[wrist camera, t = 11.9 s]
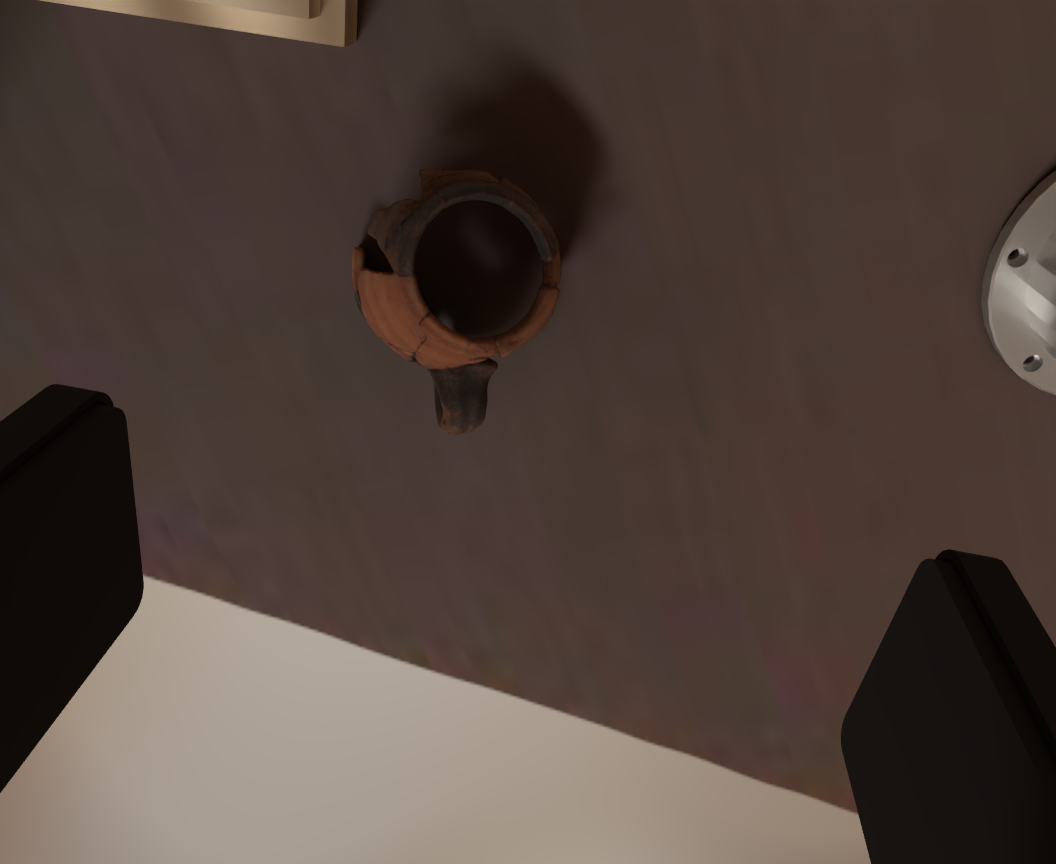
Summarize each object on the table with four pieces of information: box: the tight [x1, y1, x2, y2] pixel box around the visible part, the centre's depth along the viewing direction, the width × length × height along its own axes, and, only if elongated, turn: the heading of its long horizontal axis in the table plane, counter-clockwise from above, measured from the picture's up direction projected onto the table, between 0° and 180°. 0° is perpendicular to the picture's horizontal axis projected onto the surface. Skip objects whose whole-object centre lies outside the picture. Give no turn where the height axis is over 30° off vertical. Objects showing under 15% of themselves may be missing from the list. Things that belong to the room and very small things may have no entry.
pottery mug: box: [351, 169, 561, 435], centre depth 39 cm, size 12×10×8 cm
